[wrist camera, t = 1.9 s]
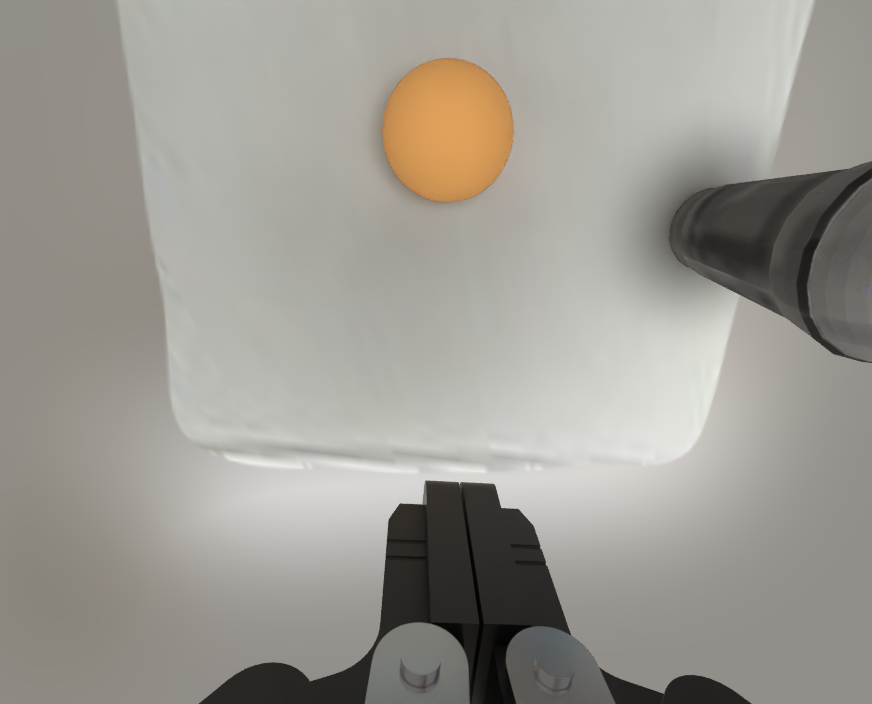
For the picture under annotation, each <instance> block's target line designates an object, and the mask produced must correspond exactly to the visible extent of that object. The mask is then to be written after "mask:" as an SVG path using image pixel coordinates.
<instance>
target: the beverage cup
mask: <svg viewBox="0 0 872 704" xmlns="http://www.w3.org/2000/svg"><path fill="white" fill-rule="evenodd" d="M670 242H671V247H672V251H673V252H674V254H675V256H676V257H677V259H678V260H679V261H680V262H682V263H683V264H684V265H686V266H687V267H690V268H692V269H693V270H695V271H696V272H697V273H699V274H700V275H702V276H704V277H706V278H708V279H710V280H712V281H714V282H716V283H718V284H720V285H722V286H724V287H726V288H728V289H730V290H732V291H734V292H735V293H737V294H739V295H741V296H744V297H746V298H747V299H749V300H751V301H753V302H755V303H757V304H759V305H761V306H763V307H765V308H767V309H769V310H771V311H773V312H775V313H777V314H779V315H781V316H783V317H785V318H787V319H788V320H790V321H791V322H792V323H793V324H795V325H796V326H797V327H799V328H800V329H801V330H803V331H804V332H806V333H807V334H808V335H810V336H811V337H812V338H814V339H815V340H816V341H817V342H819V343H820V344H821V345H822V346H824V347H825V348H826V349H828V350H829V351H830V352H831V353H833V354H835V355H839V356H842V357H846V358H850V359H853V360H857V361H861V362H869V363H872V161H871V162H868V163H864V164H861V165H858V166H855V167H853V168H850V169H845V170H837V171H829V172H821V173H814V174H807V175H798V176H791V177H783V178H775V179H767V180H760V181H752V182H744V183H737V184H729V185H725V186H722V187H717V188H709V189H706V190H704V191H701V192H698V193H696V194H695V195H693V196H692V197H691V198H689V199H688V200H687V201H685V202H684V204H683V205H682V206H681V208H680V209H679V210H678V211H677V213H676V215H675V217H674V220H673V222H672V224H671V231H670Z"/></svg>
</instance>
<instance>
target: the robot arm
mask: <svg viewBox="0 0 872 704" xmlns="http://www.w3.org/2000/svg"><path fill="white" fill-rule="evenodd" d="M384 573H385V574H384V585H383V597H382V610H381V622H380V630H379V634H378V637H377V639H376V641H375V643H374V645H373V647H372V648H371V649H370V651H369V652H368V653H367V654H366V655H365V656H364V658H362V659H361V660H360V661H359V662H358V663H356V664H355V665H353V666H352V667H351V668H348V669H346V670H344V671H342V672H339V673H336V674H333V675H330V676H327V677H323V678H321V679H317V680H314V681H311V682H310V681H309V679H308V678H307V677H306V676H305V675H304V674H303V673H302V672H300V671H299V670H298V669H296V668H295V667H292V666H290V665H287V664H283V663H263V664H259V665H255V666H252V667H249V668H247V669H244V670H243V671H241V672H239V673H237V674H236V675H234V676H233V677H232V678H230V679H229V680H227V681H226V682H225V683H224V684H222V685H221V686H220V687H219V688H218V689H216V690H215V691H214V692H213V693H212V694H210V695H209V696H208V697H207V698H205V699H204V700H203V701H202V702H200V703H199V704H751V703H750V702H748V701H747V700H746V699H744V698H743V697H742V696H740V695H739V694H738V693H736V692H735V691H733V690H732V689H730V688H728V687H727V686H725V685H723V684H721V683H719V682H717V681H714V680H712V679H709V678H706V677H702V676H696V675H685V676H681V677H678V678H676V679H674V680H673V681H671V682H670V684H669V685H668V686H667V688H666V690H665V693H664V694H663V693H659V692H657V691H654V690H651V689H648V688H645V687H642V686H639V685H636V684H633V683H630V682H627V681H624V680H622V679H619V678H617V677H614V676H612V675H610V674H609V673H607V672H605V671H604V670H602V669H601V668H599V666H598V664H597V662H596V661H595V659H594V657H593V656H592V654H591V653H590V652H589V650H588V649H586V647H585V646H584V645H583V644H582V643H580V642H579V641H578V640H577V639H575V638H574V637H572V636H571V633H570V631H569V628H568V625H567V622H566V619H565V616H564V613H563V611H562V608H561V605H560V602H559V600H558V596H557V593H556V590H555V588H554V584H553V582H552V578H551V576H550V573H549V570H548V567H547V566H546V561H545V558H544V555H543V552H542V550H541V549H540V543H539V541H538V537H537V535H536V532H535V529H534V526H533V525H532V524H531V523H530V521H529V520H528V519H527V518H526V517H525V516H524V515H523V514H522V513H521V511H520V510H519V509H507V508H501V506H500V502H499V498H498V494H497V490H496V487H495V485H494V484H484V483H465V482H461V483H460V485H459V483H458V482H445V481H444V482H443V481H425V485H424V495H423V505H420V504H419V505H418V504H399V506H398V507H397V508H396V510H395V511H394V513H393V514H392V516H391V517H390V518H389V522H388V535H387V547H386V560H385V572H384Z"/></svg>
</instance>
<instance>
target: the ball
mask: <svg viewBox="0 0 872 704" xmlns="http://www.w3.org/2000/svg"><path fill="white" fill-rule="evenodd" d="M382 132H383V144H384V149H385V153H386V156H387V159H388V161H389V164H390V166H391V168H392V169H393V171H394V173H395V174H396V176H397V177H398V178H399V180H400V181H401V182H402V183H403V184H404V185H405V186H406V187H408V188H409V189H410V190H411V191H413V192H414V193H416V194H417V195H419V196H421V197H424V198H426V199H429V200H432V201H437V202H457V201H462V200H465V199H468V198H471V197H473V196H475V195H477V194H479V193H480V192H482V191H483V190H485V189H486V188H487V187H489V186H490V185H491V184H492V183H493V182H494V181H495V179H496V178H497V177H498V176H499V174H500V173H501V171H502V170H503V168H504V166H505V164H506V162H507V160H508V157H509V154H510V151H511V147H512V142H513V118H512V112H511V109H510V105H509V102H508V100H507V98H506V95H505V93H504V92H503V90H502V88H501V87H500V85H499V84H498V83H497V82H496V80H495V79H494V78H493V77H492V76H491V75H490V74H489V73H488V72H486V71H485V70H484V69H482V68H481V67H479V66H477V65H475V64H473V63H471V62H468V61H465V60H460V59H454V58H444V59H437V60H433V61H429V62H426V63H424V64H422V65H420V66H418V67H416V68H415V69H413V70H412V71H411V72H409V73H408V74H407V75H406V76H405V77H404V78H403V79H402V80H401V81H400V82H399V83H398V85H397V86H396V88H395V89H394V90H393V92H392V94H391V96H390V98H389V100H388V103H387V106H386V109H385V113H384V117H383V126H382Z"/></svg>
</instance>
